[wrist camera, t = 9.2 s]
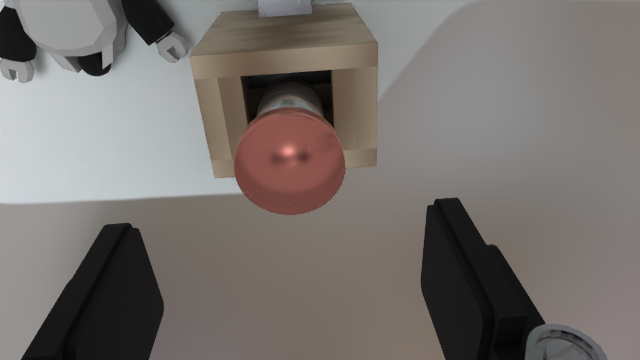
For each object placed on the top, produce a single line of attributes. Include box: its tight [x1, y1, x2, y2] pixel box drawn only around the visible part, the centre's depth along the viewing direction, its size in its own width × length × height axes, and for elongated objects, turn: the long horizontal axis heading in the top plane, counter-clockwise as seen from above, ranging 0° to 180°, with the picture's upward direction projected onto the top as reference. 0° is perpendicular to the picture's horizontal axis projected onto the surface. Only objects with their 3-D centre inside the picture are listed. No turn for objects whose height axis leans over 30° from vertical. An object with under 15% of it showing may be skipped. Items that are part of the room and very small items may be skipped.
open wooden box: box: [189, 3, 378, 178], centre depth 24 cm, size 8×6×10 cm
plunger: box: [234, 77, 345, 215], centre depth 18 cm, size 4×4×6 cm
